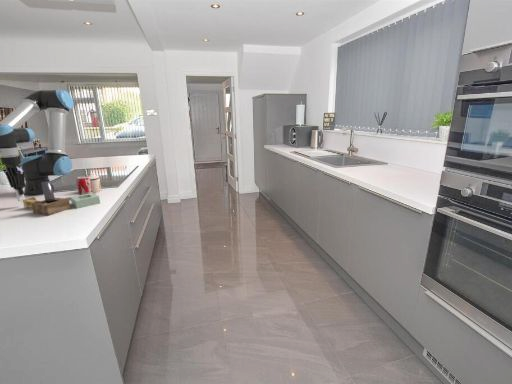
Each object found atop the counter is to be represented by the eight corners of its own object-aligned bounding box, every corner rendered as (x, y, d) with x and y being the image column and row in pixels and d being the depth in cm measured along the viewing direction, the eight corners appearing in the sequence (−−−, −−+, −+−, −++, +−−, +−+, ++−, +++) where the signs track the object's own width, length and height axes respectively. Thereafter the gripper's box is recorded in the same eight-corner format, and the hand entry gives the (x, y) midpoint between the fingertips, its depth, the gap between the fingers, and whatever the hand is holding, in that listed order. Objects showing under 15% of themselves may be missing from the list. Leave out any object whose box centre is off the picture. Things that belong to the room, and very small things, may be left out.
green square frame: (71, 203, 148) (70, 196, 147) (94, 199, 155) (92, 192, 154) (77, 208, 140) (75, 201, 139) (100, 203, 148) (98, 196, 147)
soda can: (87, 199, 156) (82, 178, 153) (76, 198, 158) (72, 178, 154) (96, 195, 163) (92, 176, 160) (86, 195, 164) (82, 175, 161)
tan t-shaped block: (24, 207, 141) (22, 200, 139) (34, 204, 145) (32, 197, 144) (36, 209, 138) (34, 201, 137) (46, 206, 142) (44, 198, 141)
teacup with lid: (104, 191, 172) (100, 173, 169) (87, 194, 166) (84, 175, 163) (98, 187, 180) (95, 170, 177) (83, 190, 174) (79, 172, 171)
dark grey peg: (47, 210, 138) (40, 182, 133) (56, 208, 140) (49, 180, 136) (48, 212, 135) (41, 183, 131) (58, 210, 138) (51, 182, 133)
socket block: (33, 213, 134) (31, 203, 133) (55, 206, 144) (53, 197, 143) (49, 215, 131) (46, 205, 129) (70, 208, 141) (68, 199, 139)
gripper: (-8, 156, 136) (5, 201, 143) (9, 157, 132) (21, 203, 138) (10, 154, 143) (21, 197, 149) (26, 155, 139) (37, 199, 145)
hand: (21, 200), depth 144 cm, fingers closed
